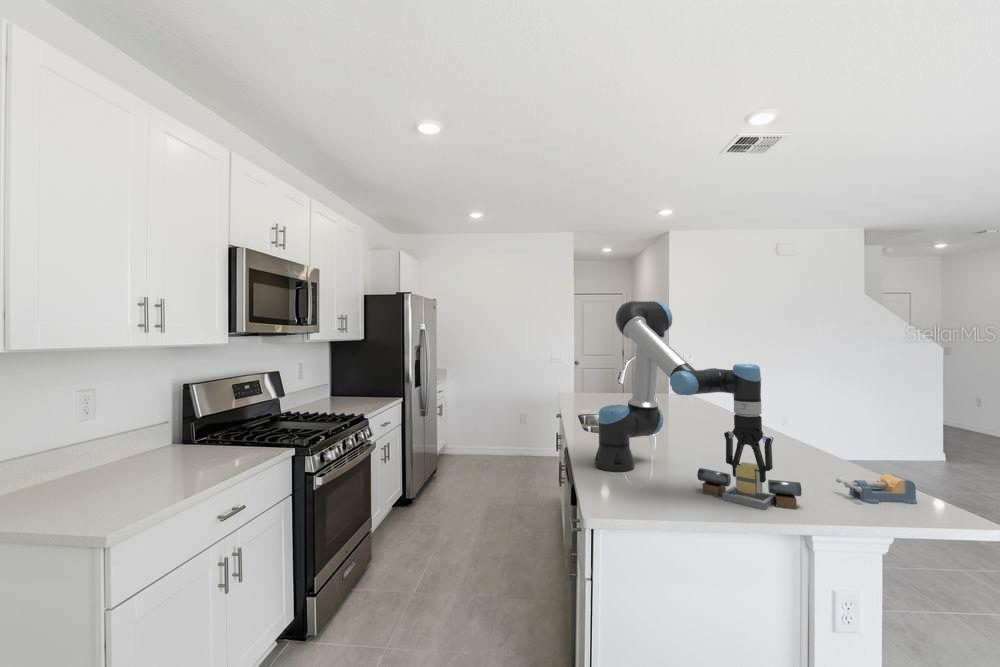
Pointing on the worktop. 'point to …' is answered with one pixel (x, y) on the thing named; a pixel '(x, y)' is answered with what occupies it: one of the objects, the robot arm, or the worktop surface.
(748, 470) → the gold rectangular block
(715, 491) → the shaft
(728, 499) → the cradle
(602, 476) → the worktop surface
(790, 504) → the shaft
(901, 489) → the vise
